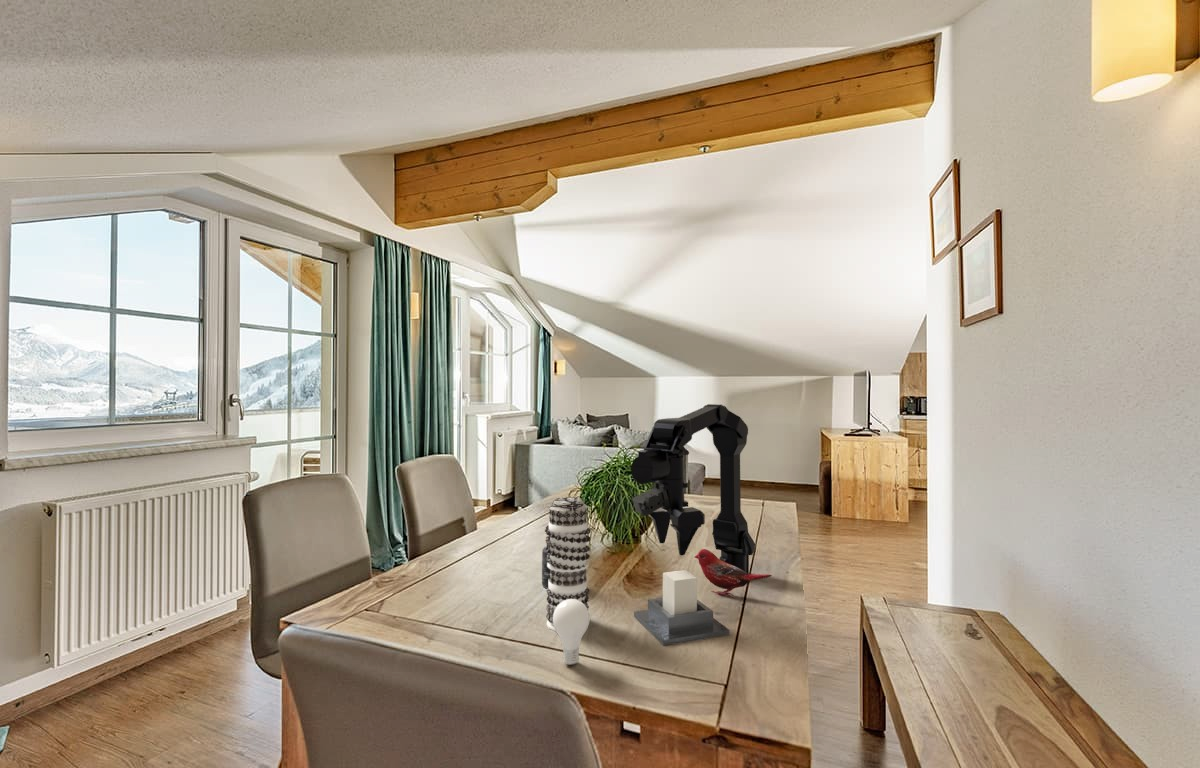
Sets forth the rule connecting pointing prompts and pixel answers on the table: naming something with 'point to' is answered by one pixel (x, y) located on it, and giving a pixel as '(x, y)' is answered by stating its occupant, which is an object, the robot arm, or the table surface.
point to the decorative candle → (567, 553)
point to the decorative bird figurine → (723, 573)
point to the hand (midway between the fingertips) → (671, 548)
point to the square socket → (679, 623)
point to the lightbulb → (571, 627)
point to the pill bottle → (545, 568)
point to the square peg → (679, 592)
